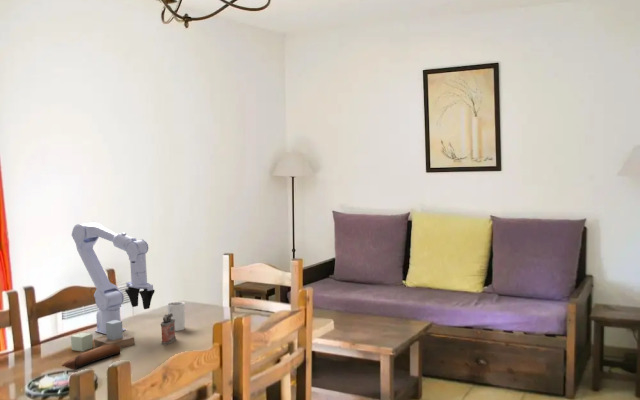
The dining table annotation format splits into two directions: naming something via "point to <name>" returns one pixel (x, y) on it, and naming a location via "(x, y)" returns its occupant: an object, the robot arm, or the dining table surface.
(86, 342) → the sage cube
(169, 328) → the lighter
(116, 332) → the blue block
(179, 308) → the white cup
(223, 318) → the dining table surface
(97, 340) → the walnut block
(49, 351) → the dining table surface
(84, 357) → the brown tapered cylinder
